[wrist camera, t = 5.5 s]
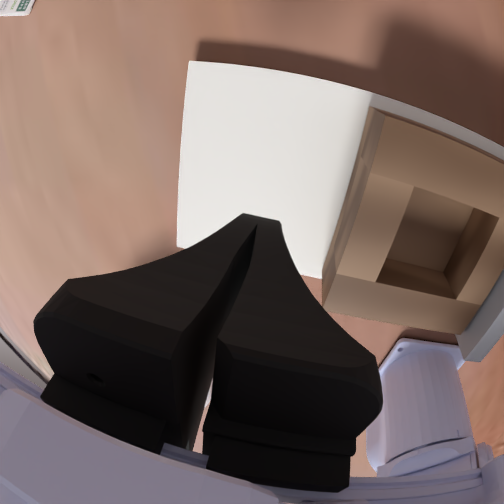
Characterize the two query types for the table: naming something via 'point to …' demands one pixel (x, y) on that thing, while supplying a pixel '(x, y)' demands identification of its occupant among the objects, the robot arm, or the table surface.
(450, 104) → the table surface
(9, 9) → the syrup box
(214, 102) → the backstop board
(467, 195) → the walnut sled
